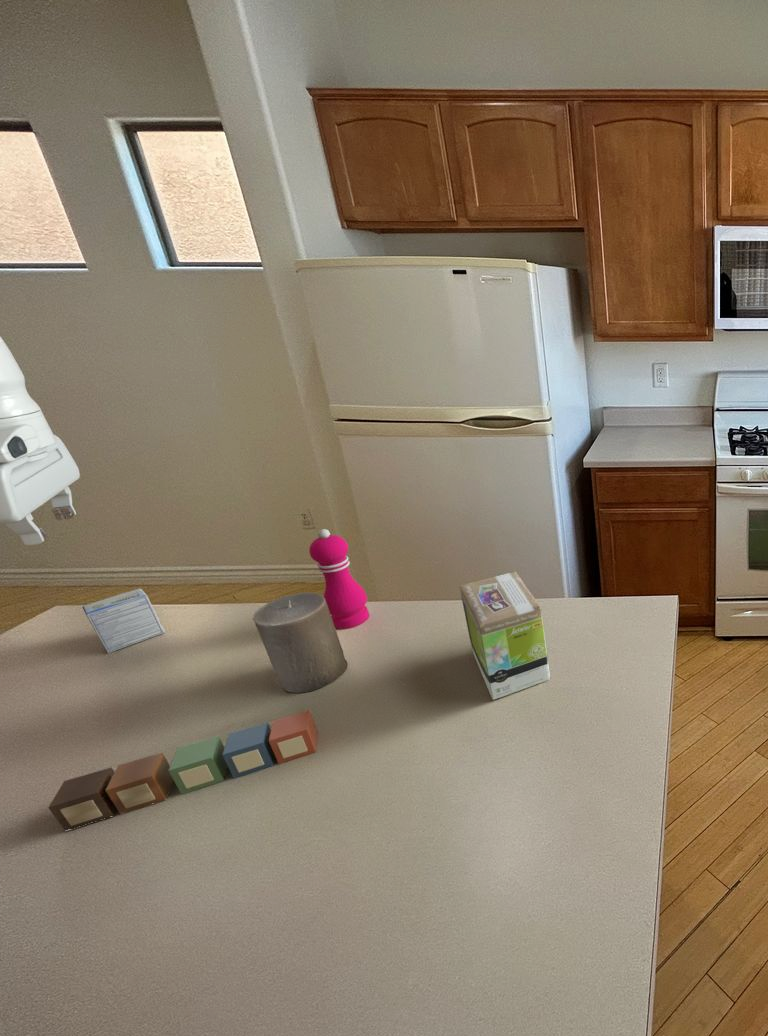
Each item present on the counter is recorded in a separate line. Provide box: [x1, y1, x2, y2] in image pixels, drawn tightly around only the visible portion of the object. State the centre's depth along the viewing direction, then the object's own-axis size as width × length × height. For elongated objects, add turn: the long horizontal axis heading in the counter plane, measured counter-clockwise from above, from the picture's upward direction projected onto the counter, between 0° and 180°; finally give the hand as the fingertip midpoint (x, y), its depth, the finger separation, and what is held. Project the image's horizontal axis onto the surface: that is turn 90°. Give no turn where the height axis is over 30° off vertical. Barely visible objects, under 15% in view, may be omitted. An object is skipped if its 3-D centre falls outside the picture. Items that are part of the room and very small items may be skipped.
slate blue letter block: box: [222, 722, 276, 779], centre depth 77 cm, size 4×5×4 cm
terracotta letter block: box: [269, 709, 319, 764], centre depth 80 cm, size 4×5×4 cm
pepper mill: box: [308, 528, 370, 630], centre depth 106 cm, size 7×7×20 cm
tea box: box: [459, 571, 551, 701], centre depth 95 cm, size 15×10×15 cm, turn 34°
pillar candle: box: [252, 591, 348, 694], centre depth 92 cm, size 10×10×15 cm
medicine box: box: [82, 588, 166, 654], centre depth 102 cm, size 8×4×9 cm, turn 144°
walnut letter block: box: [48, 766, 118, 831], centre depth 70 cm, size 4×5×4 cm
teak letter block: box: [105, 752, 174, 815], centre depth 72 cm, size 4×5×4 cm
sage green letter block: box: [168, 735, 229, 795], centre depth 75 cm, size 4×4×4 cm
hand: (53, 529), depth 79 cm, fingers open, 8 cm apart
